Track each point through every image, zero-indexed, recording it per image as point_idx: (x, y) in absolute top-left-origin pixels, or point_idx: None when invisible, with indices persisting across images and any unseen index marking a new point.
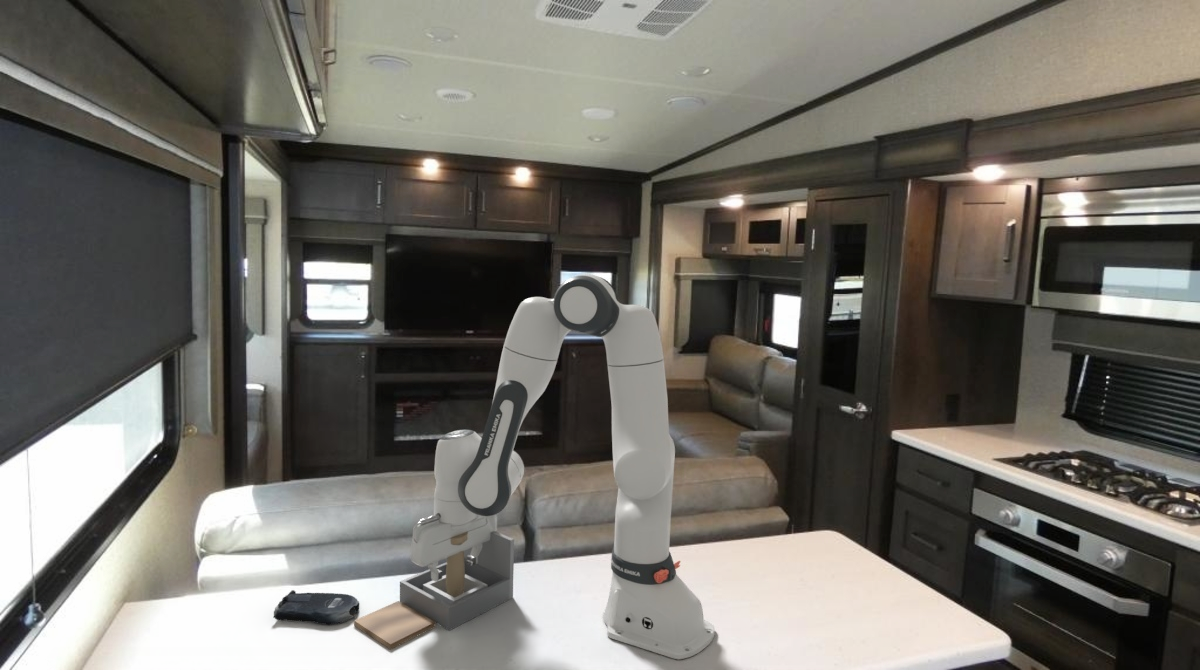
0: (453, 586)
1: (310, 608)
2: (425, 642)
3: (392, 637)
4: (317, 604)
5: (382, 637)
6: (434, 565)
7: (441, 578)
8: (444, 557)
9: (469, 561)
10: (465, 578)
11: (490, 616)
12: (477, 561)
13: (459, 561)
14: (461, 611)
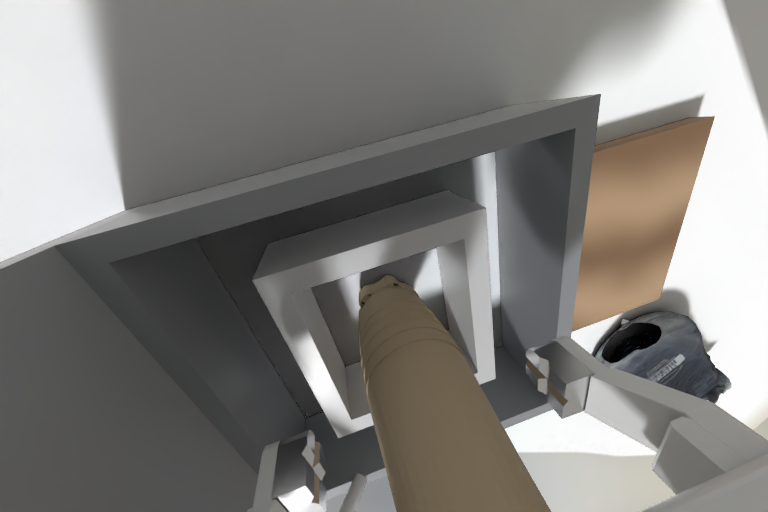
0: (434, 317)
1: (700, 367)
2: (610, 81)
3: (683, 154)
4: (684, 377)
5: (694, 174)
6: (711, 421)
7: (534, 348)
8: (726, 502)
9: (317, 465)
10: (331, 377)
11: (307, 102)
12: (263, 459)
13: (472, 452)
14: (481, 119)
